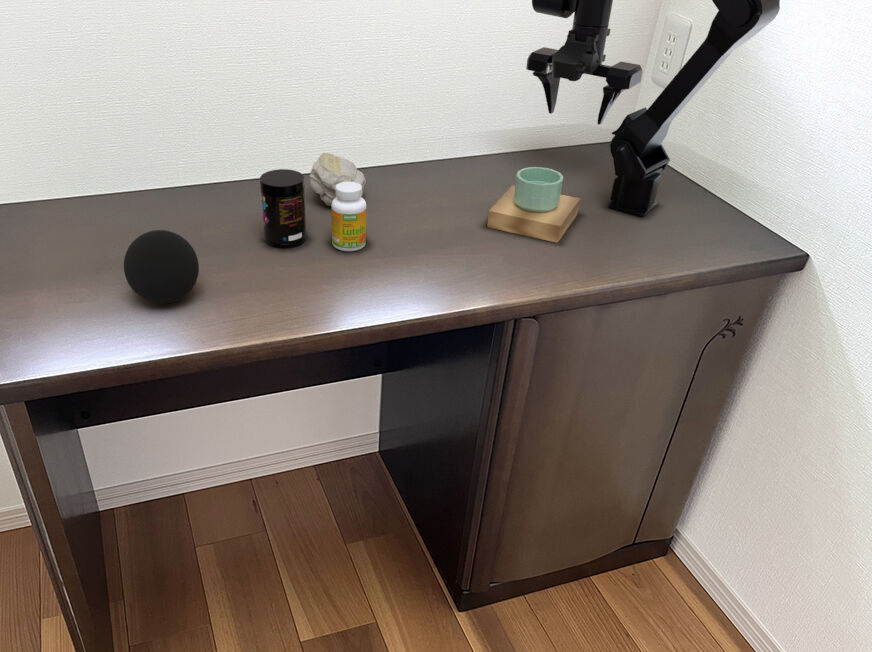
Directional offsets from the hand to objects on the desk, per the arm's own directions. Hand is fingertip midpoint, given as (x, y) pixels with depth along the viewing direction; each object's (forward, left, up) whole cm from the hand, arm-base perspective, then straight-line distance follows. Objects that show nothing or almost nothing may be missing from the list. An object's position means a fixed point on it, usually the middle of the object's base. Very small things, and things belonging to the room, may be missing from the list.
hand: (574, 118), depth 140 cm
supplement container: (+25, +49, -12) cm, 56 cm away
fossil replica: (+28, +32, -12) cm, 44 cm away
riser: (-3, +18, -12) cm, 22 cm away
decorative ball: (+26, +73, -12) cm, 78 cm away
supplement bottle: (+16, +44, -12) cm, 48 cm away
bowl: (-3, +18, -9) cm, 20 cm away
